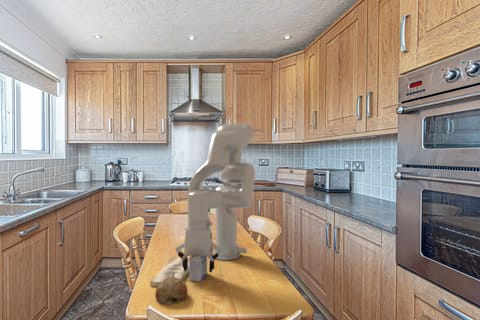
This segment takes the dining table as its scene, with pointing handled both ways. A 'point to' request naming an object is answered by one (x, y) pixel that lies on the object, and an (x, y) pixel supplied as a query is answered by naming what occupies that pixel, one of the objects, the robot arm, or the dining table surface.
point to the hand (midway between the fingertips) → (198, 270)
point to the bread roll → (171, 291)
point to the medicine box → (197, 268)
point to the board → (170, 271)
